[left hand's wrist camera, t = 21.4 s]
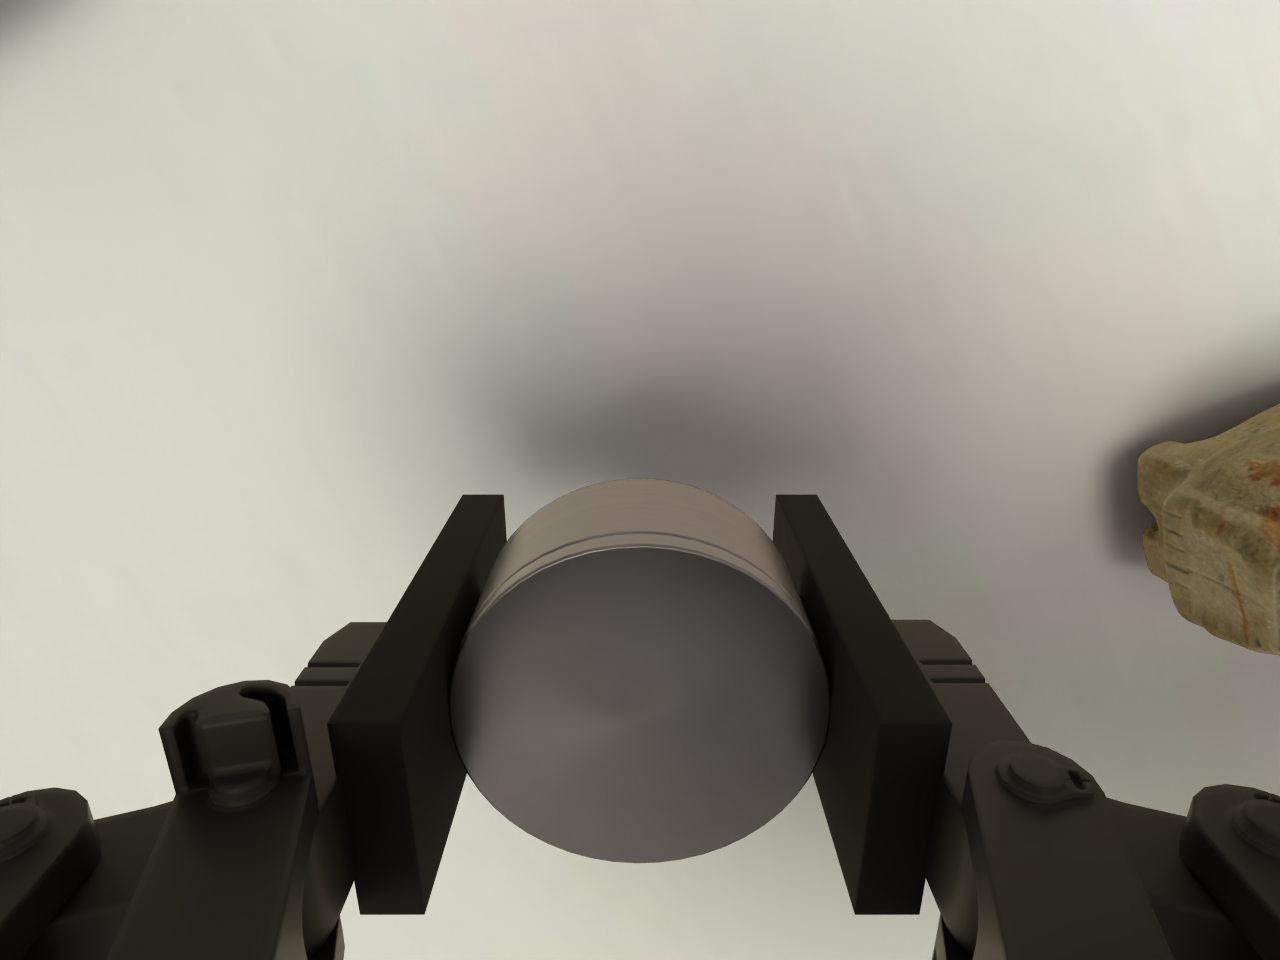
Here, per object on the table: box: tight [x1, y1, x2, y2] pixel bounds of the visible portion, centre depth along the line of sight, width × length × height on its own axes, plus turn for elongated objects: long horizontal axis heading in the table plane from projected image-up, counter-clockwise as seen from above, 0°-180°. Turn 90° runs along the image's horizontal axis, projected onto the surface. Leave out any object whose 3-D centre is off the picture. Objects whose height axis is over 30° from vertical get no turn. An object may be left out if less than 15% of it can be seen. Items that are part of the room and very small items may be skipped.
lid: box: [448, 478, 831, 863], centre depth 11 cm, size 5×5×2 cm
